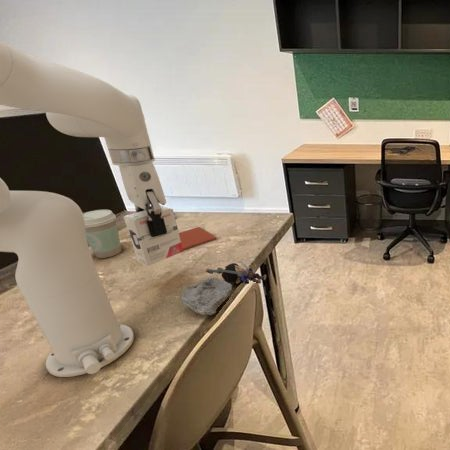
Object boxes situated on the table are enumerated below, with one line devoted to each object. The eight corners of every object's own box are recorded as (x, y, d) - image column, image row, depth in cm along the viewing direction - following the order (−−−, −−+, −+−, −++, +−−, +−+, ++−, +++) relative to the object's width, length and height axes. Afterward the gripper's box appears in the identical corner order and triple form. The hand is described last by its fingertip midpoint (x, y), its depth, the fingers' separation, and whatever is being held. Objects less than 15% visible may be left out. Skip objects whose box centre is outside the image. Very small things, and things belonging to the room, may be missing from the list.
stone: (214, 261, 78) (216, 288, 71) (236, 277, 83) (239, 304, 75) (180, 286, 77) (178, 316, 70) (203, 301, 82) (203, 331, 74)
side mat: (216, 239, 107) (216, 237, 107) (182, 250, 100) (181, 248, 100) (199, 228, 114) (198, 226, 114) (166, 238, 107) (165, 236, 107)
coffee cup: (88, 252, 98) (72, 213, 93) (124, 243, 103) (112, 206, 98) (91, 263, 92) (74, 223, 87) (129, 253, 98) (116, 215, 93)
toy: (262, 258, 83) (208, 250, 86) (252, 282, 80) (196, 273, 83) (272, 267, 88) (220, 259, 91) (262, 290, 85) (209, 281, 88)
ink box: (172, 247, 88) (161, 204, 84) (184, 251, 86) (173, 207, 81) (136, 261, 81) (121, 215, 77) (148, 266, 79) (134, 219, 74)
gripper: (167, 158, 72) (186, 236, 79) (138, 147, 82) (158, 217, 89) (124, 164, 66) (149, 247, 73) (99, 152, 76) (123, 226, 83)
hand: (153, 230), depth 81 cm, fingers closed on ink box, 5 cm apart
